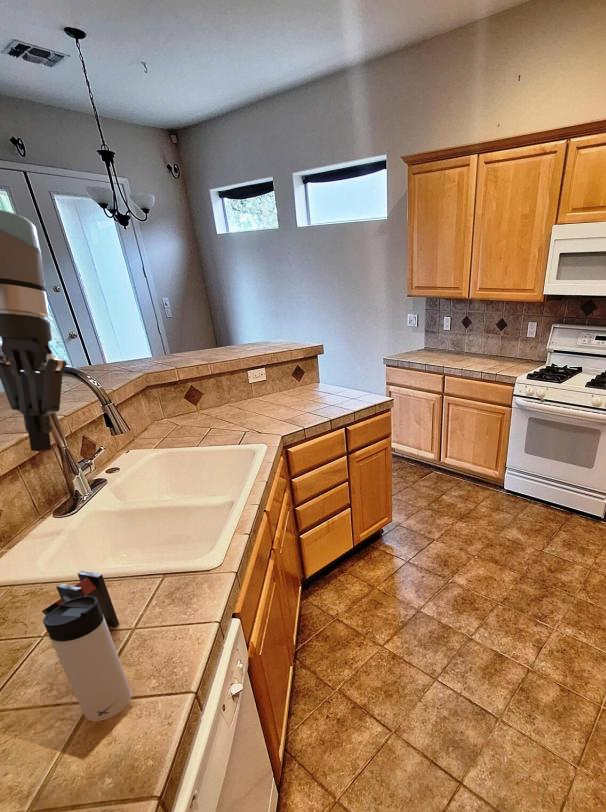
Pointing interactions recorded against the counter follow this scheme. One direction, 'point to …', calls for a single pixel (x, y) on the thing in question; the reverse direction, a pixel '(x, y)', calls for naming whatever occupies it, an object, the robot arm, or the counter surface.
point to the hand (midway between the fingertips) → (41, 449)
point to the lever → (85, 585)
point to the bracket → (99, 593)
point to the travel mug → (88, 657)
